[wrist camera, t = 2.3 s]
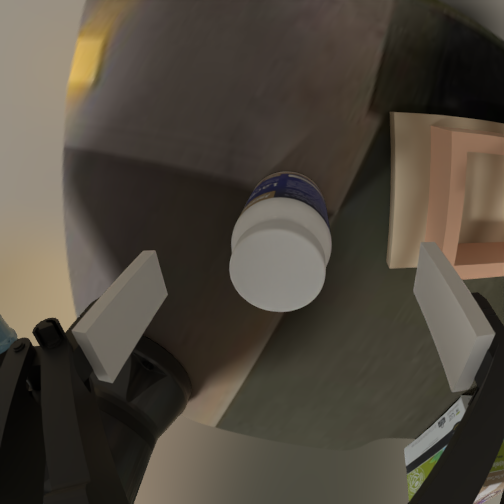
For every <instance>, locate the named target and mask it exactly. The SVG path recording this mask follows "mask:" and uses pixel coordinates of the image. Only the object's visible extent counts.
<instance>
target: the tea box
mask: <svg viewBox="0 0 504 504" xmlns="http://www.w3.org/2000/svg"><path fill="white" fill-rule="evenodd" d="M471 398H472V396H469V395H461V397H460V398H459V399H458V400H457V402H456V403H455V404H454V405H453V406H452V407H451V408H450V409H449V410H448V411H447V412H446V413H445V414H444V415H443V416H441V417H440V418H439V419H438V420H437V421H436V422H435V423H434V424H433V425H432V426H431V427H430V428H428V429H427V430H426V431H425V432H424V433H423V434H422V435H420V436H419V437H418V438H417V439H416V440H414V441H413V442H412V443H410V444H409V445H408V446H407V447H406V448H405V449H404V451H405V462H406V469H407V481H408V495H409V501H410V500H411V498H412V497H413V496H414V494H415V493H416V492H417V490H418V489H419V488H420V486H421V485H422V483H423V482H424V481H425V479H426V478H427V476H428V475H429V473H430V472H431V470H432V469H433V467H434V466H435V464H436V463H437V461H438V459H439V458H440V456H441V455H442V453H443V451H444V450H445V448H446V446H447V445H448V443H449V441H450V439H451V438H452V436H453V434H454V432H455V430H456V429H457V427H458V425H459V423H460V421H461V419H462V417H463V415H464V413H465V411H466V409H467V407H468V403H469V401H470V399H471ZM503 489H504V440H503V443H502V445H501V448H500V450H499V452H498V455H497V457H496V459H495V462H494V464H493V466H492V468H491V470H490V472H489V474H488V476H487V478H486V480H485V482H484V484H483V486H482V488H481V490H480V492H479V494H478V496H477V498H476V499H475V501H474V503H473V504H483V503H485V502H487V501H488V500H490V499H491V498H493V497H495V496H497V495H498V494H500V493H502V492H503Z"/></svg>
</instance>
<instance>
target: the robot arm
mask: <svg viewBox="0 0 504 504" xmlns="http://www.w3.org/2000/svg"><path fill="white" fill-rule="evenodd" d="M413 292H414V294H415V296H416V299H417V301H418V303H419V305H420V308H421V310H422V313H423V315H424V317H425V320H426V322H427V325H428V327H429V330H430V332H431V335H432V337H433V340H434V342H435V345H436V348H437V350H438V353H439V356H440V359H441V361H442V364H443V367H444V370H445V373H446V376H447V379H448V382H449V385H450V388H451V391H452V392H457V391H463V390H468V389H469V388H470V386H471V385H472V383H473V381H474V379H475V381H476V383H477V386H478V387H477V389H476V391H475V392H474V394H473V396H472V398H471V399H470V401H469V403H468V407H467V409H466V411H465V413H464V415H463V417H462V419H461V421H460V423H459V425H458V427H457V429H456V430H455V432H454V434H453V436H452V438H451V439H450V441H449V443H448V445H447V446H446V448H445V450H444V451H443V453H442V455H441V456H440V458H439V459H438V461H437V463H436V464H435V466H434V467H433V469H432V470H431V472H430V473H429V475H428V476H427V478H426V479H425V481H424V482H423V483H422V485H421V486H420V488H419V489H418V490H417V492H416V493H415V494H414V496H413V497H412V498H411V500H410V501H409V503H408V504H473V503H474V501H475V499H476V498H477V496H478V494H479V492H480V490H481V488H482V486H483V484H484V482H485V480H486V478H487V476H488V474H489V472H490V470H491V468H492V466H493V464H494V462H495V459H496V457H497V455H498V452H499V450H500V448H501V445H502V443H503V440H504V326H503V324H502V323H501V321H500V320H499V318H498V316H497V315H496V313H495V312H494V310H493V309H492V307H491V305H490V304H489V302H488V301H487V299H485V298H484V297H483V296H482V295H480V294H479V293H478V292H477V293H470V291H469V290H468V288H467V287H466V285H465V284H464V282H463V281H462V279H461V278H460V276H459V275H458V273H457V272H456V271H455V269H454V268H453V266H452V265H451V263H450V262H449V261H448V259H447V258H446V256H445V255H444V254H443V252H442V251H441V250H440V248H439V247H438V246H437V244H436V243H435V242H421V243H420V251H419V258H418V265H417V272H416V278H415V284H414V290H413ZM167 295H168V293H167V290H166V286H165V283H164V279H163V276H162V272H161V269H160V265H159V261H158V258H157V254H156V250H149V251H142V252H141V253H140V254H139V256H138V257H137V258H136V259H135V260H134V261H133V262H132V263H131V264H130V265H129V266H128V267H127V268H126V269H125V270H124V272H123V273H122V274H121V275H120V276H119V277H118V278H117V279H116V280H115V281H114V282H113V284H112V285H111V286H110V287H109V288H108V289H107V290H106V291H105V292H104V294H103V295H102V296H101V297H100V298H98V299H97V300H95V301H94V302H92V303H91V304H90V305H89V306H88V307H87V308H86V309H85V310H84V311H85V312H83V313H82V314H81V315H80V317H78V318H77V320H76V321H75V322H74V323H73V324H72V325H71V327H70V328H69V329H68V330H67V331H66V333H65V332H64V330H63V329H62V327H61V325H60V323H59V321H58V319H56V318H48V319H45V320H43V321H41V322H40V323H39V324H37V325H36V327H35V328H34V329H33V332H32V333H33V334H34V336H35V338H36V340H37V342H38V343H39V345H40V346H33V345H32V343H31V342H30V340H29V339H28V338H20V339H17V334H16V332H15V330H14V329H12V328H10V327H9V326H8V325H7V323H6V322H5V321H4V319H3V318H2V317H1V315H0V504H134V501H135V498H136V496H137V493H138V490H139V487H140V484H141V482H142V479H143V476H144V473H145V471H146V468H147V465H148V462H149V460H150V457H151V454H152V452H153V449H154V447H155V444H156V442H157V440H158V438H159V437H160V436H161V435H162V434H163V433H164V432H165V431H166V430H167V429H168V428H169V426H170V425H171V424H172V423H173V422H174V421H175V420H176V419H177V417H178V416H179V415H180V414H181V413H182V412H183V411H184V409H185V408H186V405H187V402H188V400H189V397H190V394H191V383H190V380H189V377H188V375H187V373H186V372H185V370H184V369H183V367H182V366H181V365H180V363H179V362H178V361H177V360H176V359H175V358H174V357H173V356H172V355H171V354H170V353H168V352H167V351H166V350H165V349H163V348H162V347H161V346H159V345H158V344H156V343H155V342H153V341H151V340H150V339H148V338H146V337H144V336H142V334H143V333H144V331H145V330H146V328H147V326H148V325H149V323H150V322H151V320H152V319H153V317H154V315H155V314H156V312H157V311H158V309H159V308H160V306H161V305H162V303H163V301H164V300H165V298H166V297H167ZM500 504H504V489H503V494H502V498H501V502H500Z"/></svg>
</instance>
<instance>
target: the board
mask: <svg viewBox="0 0 504 504" xmlns="http://www.w3.org/2000/svg"><path fill="white" fill-rule="evenodd" d="M389 113H390V136H391V196H390V219H389V236H388V249H387V260H386V262H387V264H388V266H389V268H411V267H417V265H418V258H419V251H420V243H421V242H425V234H426V225H427V215H428V203H429V188H430V164H431V126H442V127H453V128H463V129H472V130H480V131H487V132H494V133H501V134H504V124H503V123H497V122H491V121H485V120H478V119H471V118H463V117H455V116H445V115H435V114H422V113H407V112H389ZM487 242H504V155H497V154H488V153H478V152H467V167H466V182H465V194H464V204H463V213H462V220H461V228H460V234H459V241H458V243H487Z"/></svg>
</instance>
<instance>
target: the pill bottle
mask: <svg viewBox="0 0 504 504" xmlns="http://www.w3.org/2000/svg"><path fill="white" fill-rule="evenodd" d="M331 247H332V240H331V233H330V226H329V221H328V215H327V209H326V204H325V200H324V197H323V194H322V192H321V191H320V189H319V188H318V186H317V185H316V184H315V183H314V182H313V181H312V180H311V179H309V178H308V177H306V176H304V175H302V174H299V173H295V172H288V171H286V172H277V173H274V174H271V175H269V176H267V177H266V178H264V179H263V180H262V181H260V182H259V183H258V184H257V186H256V187H255V188H254V190H253V192H252V194H251V196H250V198H249V199H248V201H247V203H246V205H245V207H244V209H243V211H242V213H241V214H240V216H239V218H238V220H237V222H236V224H235V227H234V230H233V233H232V239H231V248H232V255H231V259H230V264H229V272H230V277H231V281H232V283H233V285H234V287H235V289H236V290H237V292H238V293H239V294H240V295H241V296H242V297H243V298H244V299H245V300H246V301H247V302H249V303H250V304H252V305H254V306H256V307H258V308H261V309H264V310H267V311H274V312H288V311H293V310H296V309H299V308H302V307H304V306H306V305H307V304H309V303H310V302H311V301H313V300H314V299H315V298H316V296H317V295H318V294H319V293H320V291H321V289H322V287H323V284H324V281H325V275H326V266H327V264H328V261H329V259H330V255H331Z"/></svg>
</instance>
